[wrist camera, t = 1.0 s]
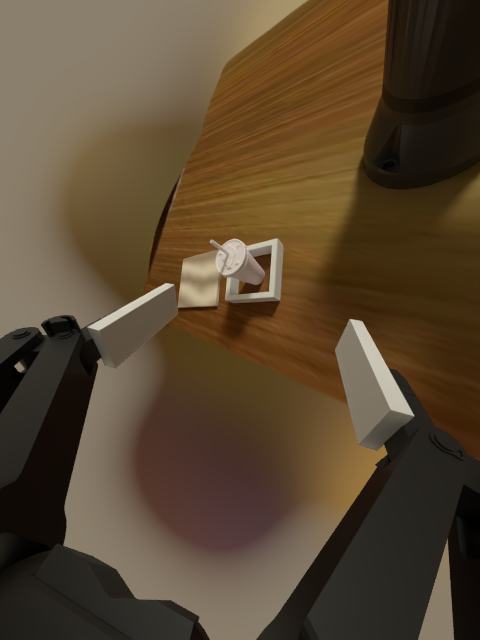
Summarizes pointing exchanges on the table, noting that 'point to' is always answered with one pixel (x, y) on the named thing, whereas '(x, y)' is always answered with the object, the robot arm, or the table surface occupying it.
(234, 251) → the smoothie
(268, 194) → the table surface
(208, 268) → the board
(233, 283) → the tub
